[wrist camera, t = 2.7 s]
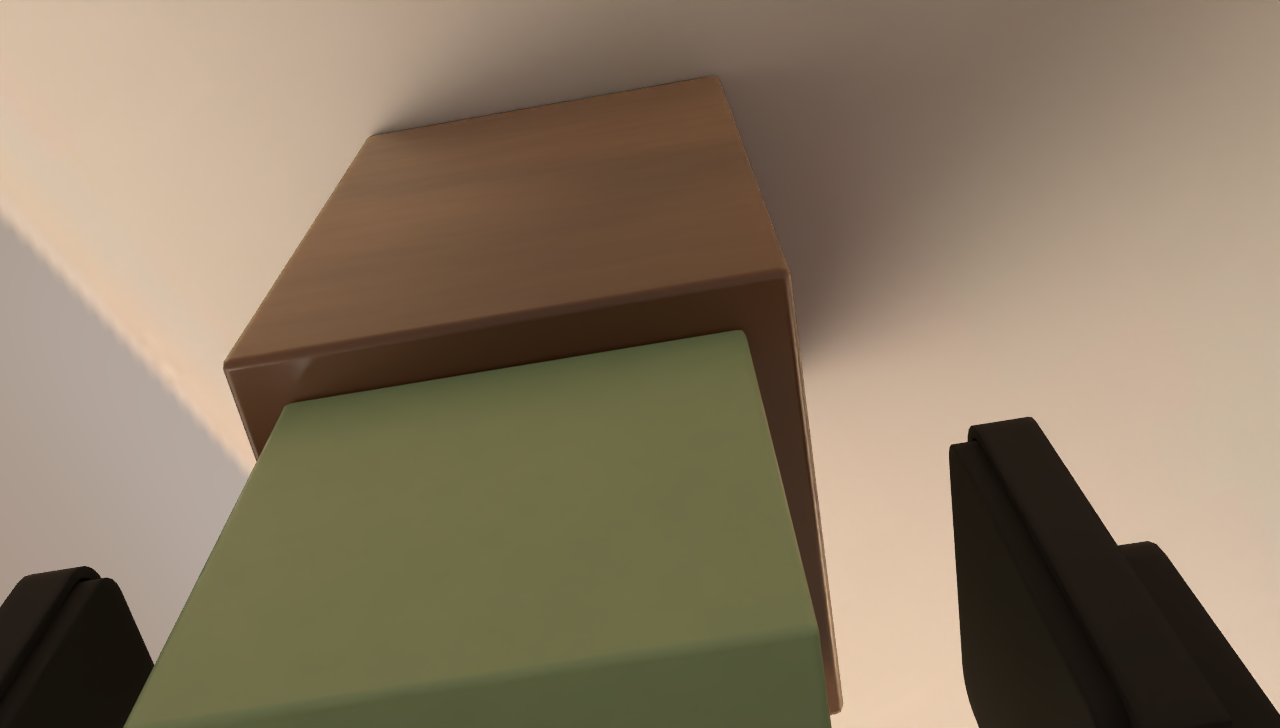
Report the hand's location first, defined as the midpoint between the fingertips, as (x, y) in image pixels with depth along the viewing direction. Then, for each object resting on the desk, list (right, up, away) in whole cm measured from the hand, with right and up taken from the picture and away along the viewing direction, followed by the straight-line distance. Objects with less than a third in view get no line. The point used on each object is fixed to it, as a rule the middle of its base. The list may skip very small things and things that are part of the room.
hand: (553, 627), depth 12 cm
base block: (0, +4, +8) cm, 9 cm away
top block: (0, 0, +1) cm, 1 cm away
